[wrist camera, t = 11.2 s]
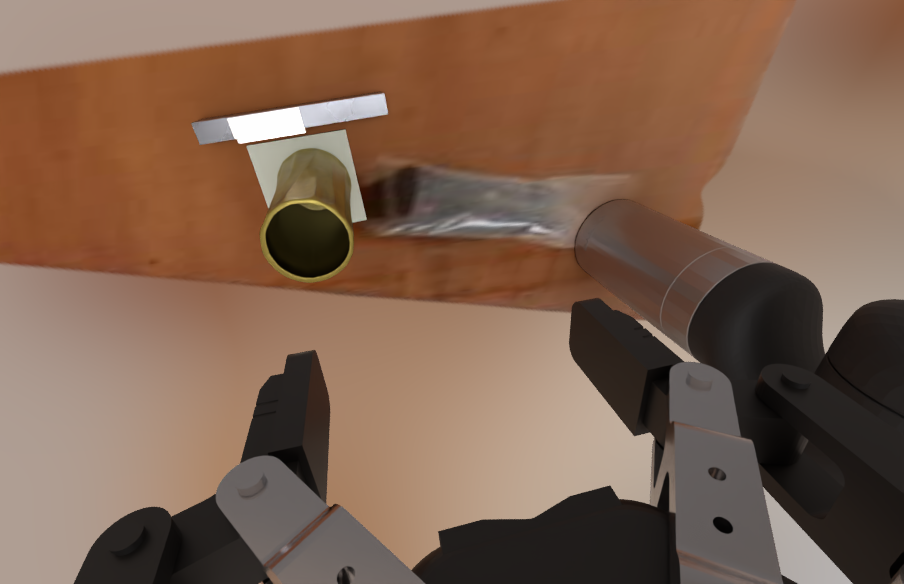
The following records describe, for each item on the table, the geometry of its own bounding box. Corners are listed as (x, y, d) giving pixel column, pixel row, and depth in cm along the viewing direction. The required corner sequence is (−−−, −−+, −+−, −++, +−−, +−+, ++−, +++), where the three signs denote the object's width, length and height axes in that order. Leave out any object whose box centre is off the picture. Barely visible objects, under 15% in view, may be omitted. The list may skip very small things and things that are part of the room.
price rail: (380, 91, 34) (384, 93, 32) (384, 116, 35) (389, 120, 33) (202, 118, 32) (189, 123, 29) (212, 144, 33) (201, 151, 30)
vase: (296, 133, 34) (279, 169, 22) (363, 172, 37) (381, 223, 25) (265, 196, 36) (232, 263, 23) (331, 229, 38) (332, 304, 26)
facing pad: (345, 129, 35) (345, 129, 35) (366, 218, 39) (366, 219, 39) (246, 145, 34) (246, 145, 34) (279, 236, 38) (278, 237, 38)
